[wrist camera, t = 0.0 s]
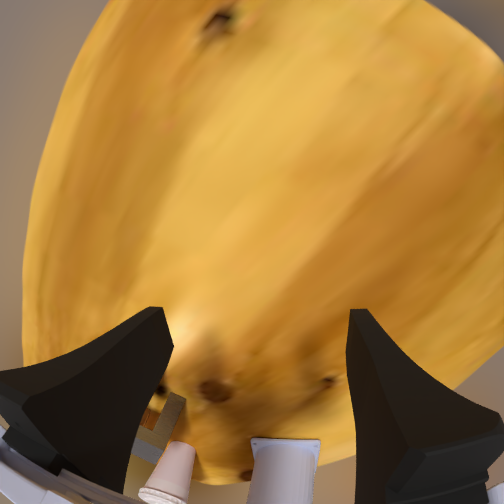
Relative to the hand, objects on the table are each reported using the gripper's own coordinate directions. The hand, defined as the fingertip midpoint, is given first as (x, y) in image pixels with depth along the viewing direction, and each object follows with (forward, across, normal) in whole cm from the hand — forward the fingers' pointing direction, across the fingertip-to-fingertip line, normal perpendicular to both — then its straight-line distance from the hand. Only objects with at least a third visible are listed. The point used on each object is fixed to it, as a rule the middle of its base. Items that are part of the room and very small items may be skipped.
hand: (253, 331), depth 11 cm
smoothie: (+10, +14, +30) cm, 35 cm away
